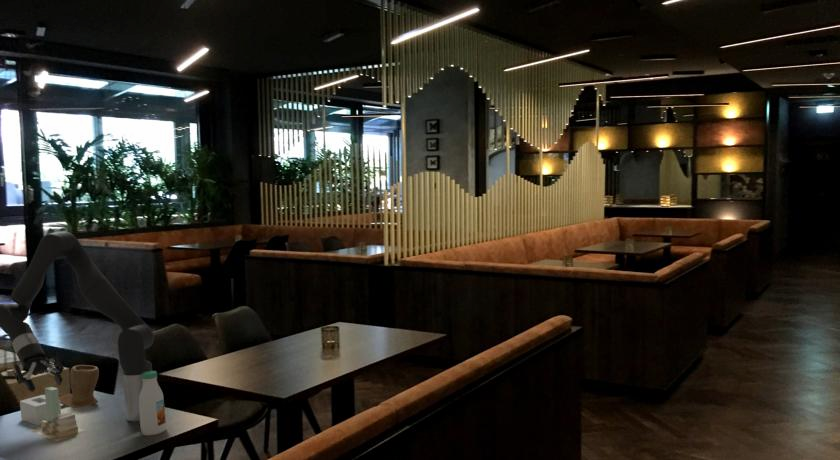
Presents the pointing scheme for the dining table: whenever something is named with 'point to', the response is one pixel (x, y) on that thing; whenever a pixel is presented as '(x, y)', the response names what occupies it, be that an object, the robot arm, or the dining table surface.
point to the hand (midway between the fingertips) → (47, 386)
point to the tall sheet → (52, 403)
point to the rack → (47, 432)
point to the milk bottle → (151, 405)
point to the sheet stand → (34, 409)
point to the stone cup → (81, 386)
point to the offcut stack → (64, 425)
